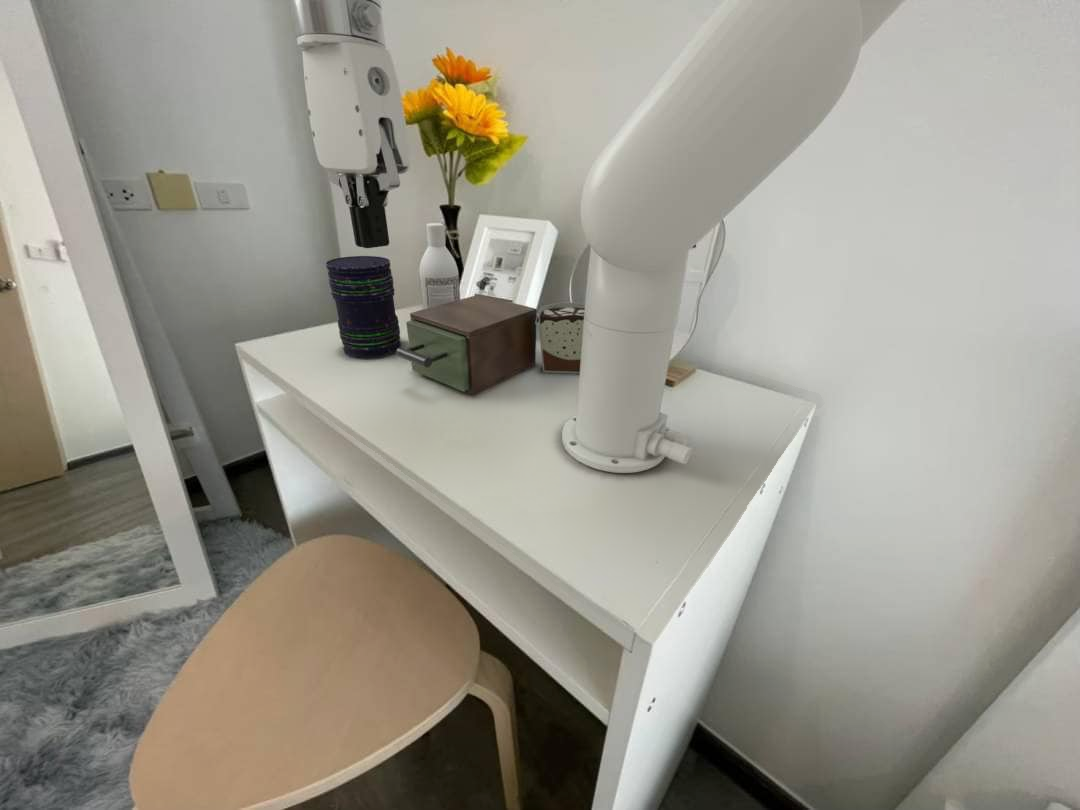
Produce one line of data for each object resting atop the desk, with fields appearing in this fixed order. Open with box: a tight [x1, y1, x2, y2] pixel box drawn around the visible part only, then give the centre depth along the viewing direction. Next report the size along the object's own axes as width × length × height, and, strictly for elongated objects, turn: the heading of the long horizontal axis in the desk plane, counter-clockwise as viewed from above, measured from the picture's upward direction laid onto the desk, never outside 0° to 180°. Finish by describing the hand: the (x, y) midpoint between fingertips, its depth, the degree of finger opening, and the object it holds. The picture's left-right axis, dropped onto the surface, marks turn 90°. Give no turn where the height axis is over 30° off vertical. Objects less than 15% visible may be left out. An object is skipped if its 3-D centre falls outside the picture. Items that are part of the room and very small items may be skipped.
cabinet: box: [409, 294, 538, 396], centre depth 69 cm, size 15×13×10 cm
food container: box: [535, 302, 585, 375], centre depth 71 cm, size 12×6×10 cm, turn 88°
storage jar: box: [325, 255, 402, 360], centre depth 74 cm, size 10×10×15 cm
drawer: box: [395, 319, 470, 393], centre depth 66 cm, size 18×11×8 cm, turn 142°
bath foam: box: [418, 222, 461, 310], centre depth 80 cm, size 7×7×20 cm
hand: (373, 245), depth 48 cm, fingers closed
